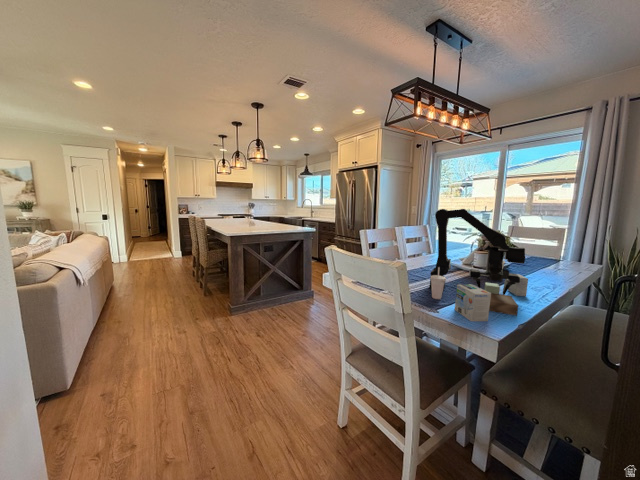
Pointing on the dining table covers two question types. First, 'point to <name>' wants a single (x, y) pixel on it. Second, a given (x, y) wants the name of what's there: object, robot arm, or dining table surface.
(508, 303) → the walnut riser block
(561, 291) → the dining table surface
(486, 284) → the sage block
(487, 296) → the light bulb box
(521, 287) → the medicine box
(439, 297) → the smoothie
